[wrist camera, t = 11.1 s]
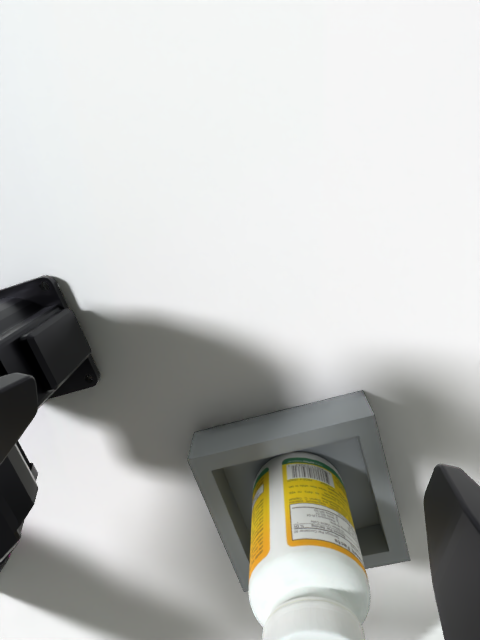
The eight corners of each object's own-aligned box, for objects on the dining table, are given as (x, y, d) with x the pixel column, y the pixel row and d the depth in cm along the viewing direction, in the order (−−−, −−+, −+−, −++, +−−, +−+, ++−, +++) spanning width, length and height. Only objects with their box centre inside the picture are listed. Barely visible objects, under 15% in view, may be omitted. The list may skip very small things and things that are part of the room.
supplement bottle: (316, 434, 23) (351, 599, 14) (358, 500, 24) (415, 691, 15) (235, 471, 24) (218, 647, 15) (279, 533, 26) (288, 728, 16)
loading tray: (245, 555, 27) (243, 591, 25) (194, 432, 24) (187, 459, 22) (396, 525, 26) (410, 560, 23) (362, 390, 23) (374, 414, 20)
